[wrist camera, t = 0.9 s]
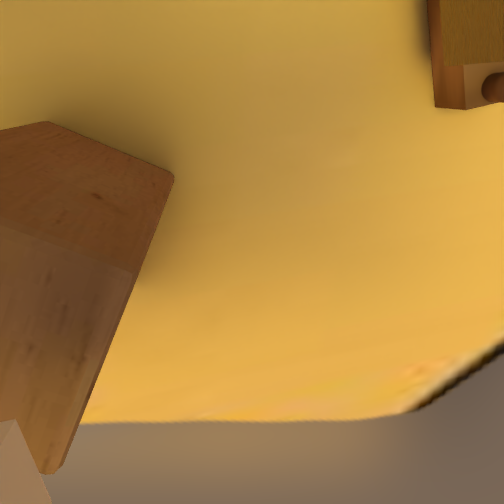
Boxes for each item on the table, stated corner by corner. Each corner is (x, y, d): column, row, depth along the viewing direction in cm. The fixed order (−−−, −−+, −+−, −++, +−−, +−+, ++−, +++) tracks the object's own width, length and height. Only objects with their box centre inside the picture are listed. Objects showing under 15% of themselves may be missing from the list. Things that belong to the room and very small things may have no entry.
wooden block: (176, 173, 35) (139, 272, 17) (132, 287, 38) (55, 483, 19) (43, 118, 33) (-173, 159, 14) (6, 242, 36) (-218, 412, 17)
